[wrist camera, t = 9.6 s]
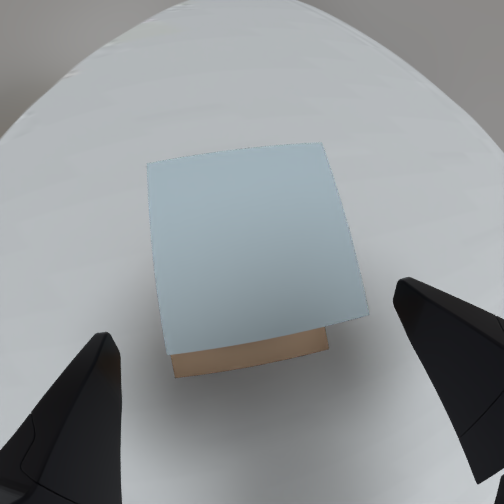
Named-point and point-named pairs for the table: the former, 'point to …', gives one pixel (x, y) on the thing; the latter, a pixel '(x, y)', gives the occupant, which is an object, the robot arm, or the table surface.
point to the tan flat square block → (249, 353)
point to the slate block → (250, 246)
